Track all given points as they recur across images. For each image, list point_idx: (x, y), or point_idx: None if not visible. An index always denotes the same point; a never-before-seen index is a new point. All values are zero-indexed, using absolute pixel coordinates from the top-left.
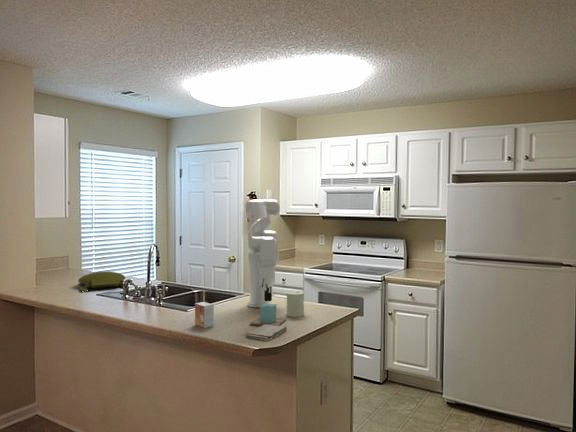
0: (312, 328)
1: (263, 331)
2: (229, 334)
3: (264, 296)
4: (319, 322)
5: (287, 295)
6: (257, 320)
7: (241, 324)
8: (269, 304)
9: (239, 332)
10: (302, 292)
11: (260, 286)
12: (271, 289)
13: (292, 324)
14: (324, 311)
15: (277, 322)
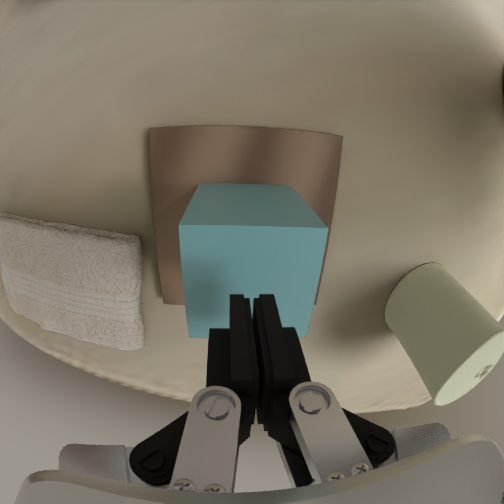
0: None
1: (34, 281)
2: (4, 121)
3: (230, 333)
4: None
5: (468, 344)
6: (239, 150)
7: (166, 65)
8: (284, 292)
9: (31, 144)
10: (467, 389)
11: (39, 482)
12: (298, 462)
13: None
14: None
15: None
